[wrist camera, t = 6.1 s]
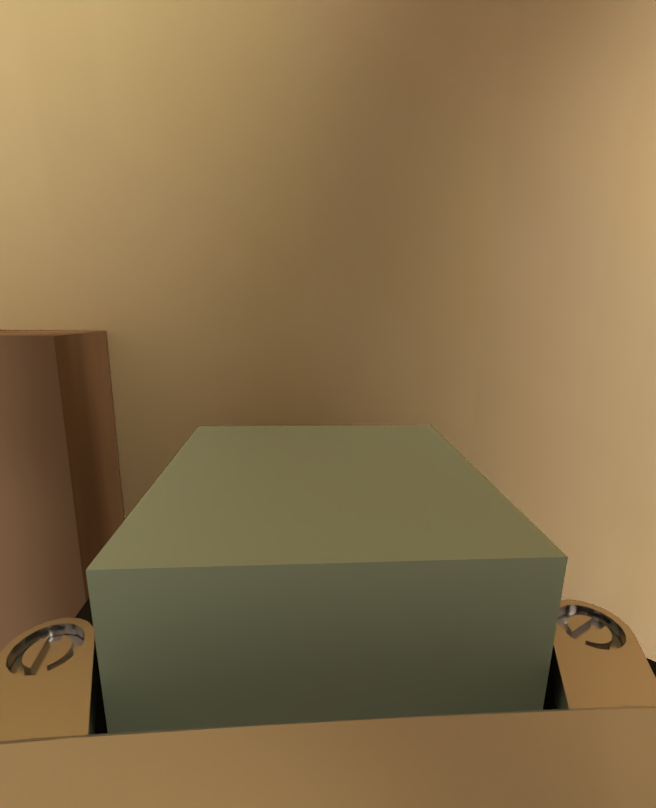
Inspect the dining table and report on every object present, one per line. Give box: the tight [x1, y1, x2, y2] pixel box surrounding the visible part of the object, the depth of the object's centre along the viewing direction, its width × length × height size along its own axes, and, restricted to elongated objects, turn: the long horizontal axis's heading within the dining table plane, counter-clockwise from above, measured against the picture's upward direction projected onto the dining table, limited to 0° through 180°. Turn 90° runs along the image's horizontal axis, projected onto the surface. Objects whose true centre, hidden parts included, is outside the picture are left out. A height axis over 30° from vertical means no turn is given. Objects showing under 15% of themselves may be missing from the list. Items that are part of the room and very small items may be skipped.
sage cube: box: [86, 425, 568, 733], centre depth 9 cm, size 6×6×6 cm
